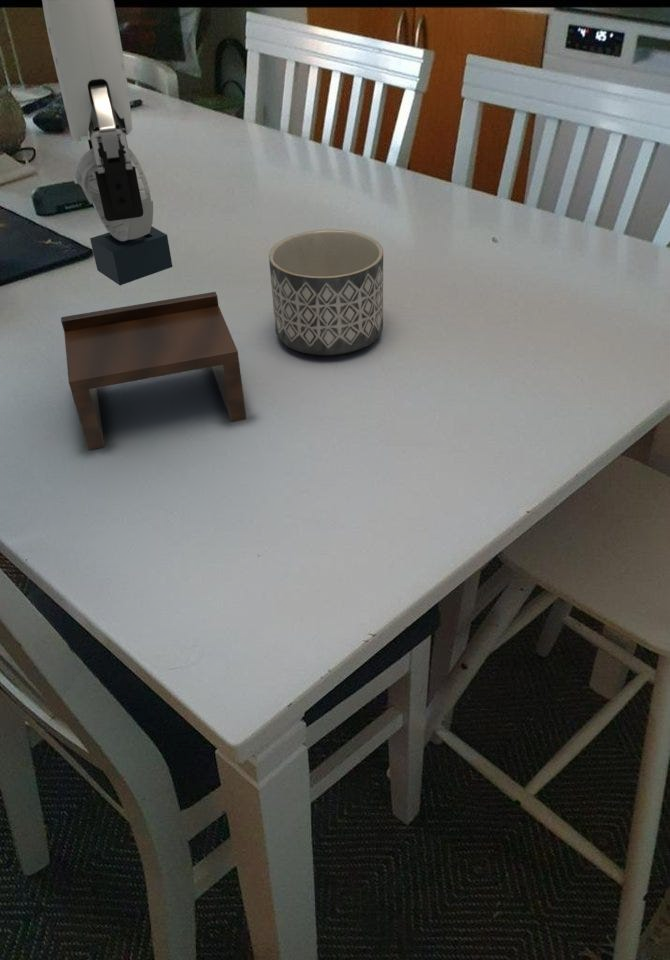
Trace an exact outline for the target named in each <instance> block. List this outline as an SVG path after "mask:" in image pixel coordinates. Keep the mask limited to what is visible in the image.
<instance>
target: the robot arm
mask: <svg viewBox="0 0 670 960" xmlns="http://www.w3.org/2000/svg"><path fill="white" fill-rule="evenodd" d="M41 2H42V9H43V15H44V20H45V25H46V31H47V37H48V42H49V45H50V51H51V54H52V60H53V64H54V68H55V73H56V77H57V81H58V85H59V90H60V93H61V97H62V102H63V106H64V110H65V114H66V119H67V123H68V128H69V132H70V135H71V138H72V139H73V140H75V141H77V142H81V140H82V139H81V137H88V135H89V139H87V142H88V147H89V150H91V149H92V148H93V151H94V156H95V160H96V165H97V169H98V171H95V175H96V179H97V184H98V189H99V193H100V198H101V202H102V207H103V211H104V216H105V219H106V220H107V221H116V220H123V219H130V218H137V217H141V216H142V215H143V207H142V201H141V196H140V191H139V186H138V179H137V175H136V170H135V166H133V167H132V163H131V158H130V153H129V149H130V148H129V145H128V144H129V143H128V140H127V136H128V135H129V134H130V133H131V132H132V131H133V121H132V110H131V102H130V95H129V93H130V92H129V85H128V79H127V71H126V65H125V59H124V58H125V57H124V51H123V47H122V40H121V34H120V29H119V22H118V16H117V11H116V5H115V1H114V0H41ZM99 145H100V146H99ZM128 148H129V149H128ZM102 159H103V162H102ZM125 167H126V168H125ZM104 169H105V170H104Z"/></svg>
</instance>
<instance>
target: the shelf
mask: <svg viewBox="0 0 670 960" xmlns="http://www.w3.org/2000/svg"><path fill="white" fill-rule="evenodd" d="M218 298H219V297H218V295H217V292H216V291H211V292H204V293H199V294H193V295H186V296H182V297H175V298H169V299H163V300H157V301H151V302H144V303H139V304H138V303H137V304H133V305H126V306H120V307H114V308H108V309H102V310H95V311H89V312H85V313H78V314H71V315H66V316H61V317H60V322H61V325H62V329H63V330H62V331H63V335H64V346H65V347H64V348H65V358H66V367H67V378H68V385H69V389H70V391H71V395H72V398H73V402H74V407H75V409H76V412H77V416H78V419H79V422H80V426H81V430H82V433H83V437H84V440H85V444H86V447H87V450H88V451H91V450H96V449H101V448H105V440H104V433H103V426H102V419H101V412H100V411H101V410H100V405H99V398H98V397H99V396H98V389H99V388H104V387H109V386H110V387H111V386H115V385H120V384H126V383H131V382H137V381H142V380H148V379H153V378H154V379H155V378H158V377H163V376H164V377H165V376H169V375H170V376H171V375H173V374H174V375H175V374H180V373H185V372H190V371H191V372H192V371H196V370H203V369H207V368H211V370H212V373H213V375H214V378H215V380H216V384H217V386H218V389H219V392H220V395H221V397H222V400H223V403H224V406H225V408H226V409H225V410H226V411H227V414H228V417H229V420H230V422H231V423H233V422H238V421H242V420H246V419H247V414H246V406H245V398H244V389H243V382H242V374H241V366H240V357H239V351H238V349H237V346H236V344H235V342H234V339H233V337H232V334H231V332H230V329H229V327H228V325H227V322H226V320H225V317H224V315H223V313H222V311H221V307H220V306H219V299H218Z"/></svg>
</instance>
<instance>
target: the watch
mask: <svg viewBox="0 0 670 960" xmlns="http://www.w3.org/2000/svg"><path fill="white" fill-rule="evenodd" d="M99 146H100V145H99ZM128 149H129V153H130V158H131V163H132V167H133V166H135V170H136V175H137V180H138V186H139V191H140V196H141V201H142V207H143V215H142V216H141V217H137V218H130V219H123V220H116V221H107V220H106V219H105V216H104V211H103V207H102V202H101V198H100V193H99V189H98V184H97V179H96V175H95V171H98V169H97V165H96V160H95V156H94V151H93V148H92V149H91V150H90V149H89V150H88V151H86V152H85V153H84V154H83V155H82V156H81V157H80V159H79V160H78V161H77V164H76V166H75V169H74V174H72V180H73V183H74V184H75V185H79V186H80V187H81V190H82V191H83V194H84V195H85V197H86V199H87V201H88V202H89V204H90V205H91V204H92V205H93V207H94V210H95V213H96V214H97V216H98V218H99V220H100V222H101V224H102V225H103V227H104V228H105V230H106V231H107V232H105V233H102V234H100V235H96V236H93V237H90V238H89V241H90V244H91V245H90V246H91V248H92V249H91V250H92V253H93V258H94V262H95V265H96V271H97V272H99V273H101V274H102V275H103V276H105V277H106V278H108V279H109V280H111V281H113V282H114V283H115V284H117V285H119V286H123V285H125V284H128V283H131V282H134V281H137V280H140V279H142V278H145V277H148V276H151V275H154V274H157V273H159V272H164V271H165V270H168V269H171V268H173V266H174V265H173V261H172V260H173V259H172V256H171V255H172V254H171V250H170V249H171V248H170V243H169V237H168V234H167V233H165V232H163V231H161V230H159V229H157V228H155V227H154V226H153V219H154V200H152V198H151V191H150V186H149V183H148V180H147V177H146V174H145V173H144V169H143V167H142V165H141V163H140V161H139V159H138V157H137V156H136V154H135V153H134V152H133V151H132V150H131V148H129V147H128ZM102 162H103V159H102ZM125 168H126V167H125ZM104 170H105V169H104Z"/></svg>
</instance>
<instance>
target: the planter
mask: <svg viewBox="0 0 670 960" xmlns="http://www.w3.org/2000/svg"><path fill="white" fill-rule="evenodd" d="M269 250H270V251H269V253H268V263H269V270H270V271H269V273H270V283H271V284H270V286H271V295H272V305H273V307H272V308H273V316H274V327H275V328H274V329H275V333H276V336H277V338H278V339H279V341H280V342H281V343H282V344H283V345H285V346H286V347H287V348H290V349H292V350H294V351H297V352H299V353H304V354H308V355H314V356H338V355H344V354H348V353H353V352H357V351H360V350H361V349H364V348H366V347H368V346H369V345H370V346H371V344H373V343H374V342H375V341H376V340H377V339H379V337H380V336H381V334H382V331H383V329H384V248H383V246H382V244H381V243H380V242H379V241H377V240H376V239H375V238H374V237H371V236H370V235H367V234H364V233H361V232H357V231H353V230H347V229H315V230H309V231H304V232H300V233H296V234H293V235H290V236H287V237H285V238H283V239H281V240H280V241H278V242H277V243H275V244H274V245H273V246H272V247H271V248H270V249H269Z"/></svg>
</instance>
